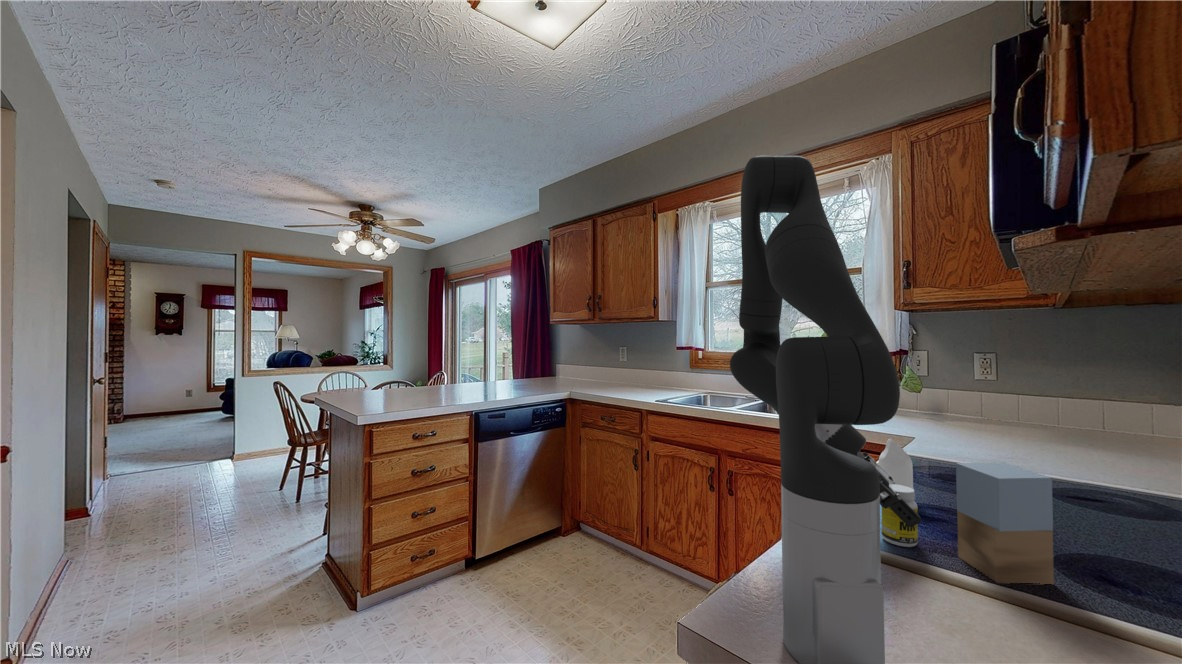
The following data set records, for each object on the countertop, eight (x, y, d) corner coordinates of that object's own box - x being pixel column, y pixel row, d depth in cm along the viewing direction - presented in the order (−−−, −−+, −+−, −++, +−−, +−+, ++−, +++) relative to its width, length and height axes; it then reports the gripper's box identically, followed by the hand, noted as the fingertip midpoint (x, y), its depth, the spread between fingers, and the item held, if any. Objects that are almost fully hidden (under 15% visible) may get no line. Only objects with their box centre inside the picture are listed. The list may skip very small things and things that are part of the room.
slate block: (1052, 530, 59) (1051, 477, 59) (999, 531, 59) (998, 478, 59) (1004, 509, 66) (1003, 462, 66) (956, 510, 66) (956, 463, 66)
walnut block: (1053, 584, 59) (1052, 531, 59) (996, 583, 60) (995, 530, 60) (1008, 558, 66) (1007, 510, 66) (958, 556, 66) (957, 509, 67)
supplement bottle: (901, 549, 68) (901, 494, 68) (874, 536, 73) (874, 484, 73) (925, 545, 70) (925, 491, 70) (897, 532, 74) (897, 481, 74)
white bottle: (920, 441, 87) (896, 443, 86) (921, 502, 87) (897, 505, 86) (892, 434, 93) (870, 436, 92) (893, 492, 93) (871, 494, 92)
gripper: (844, 426, 69) (943, 520, 63) (844, 412, 81) (927, 489, 75) (806, 456, 72) (898, 549, 66) (812, 438, 84) (890, 514, 78)
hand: (913, 516), depth 71 cm, fingers closed on supplement bottle, 4 cm apart
